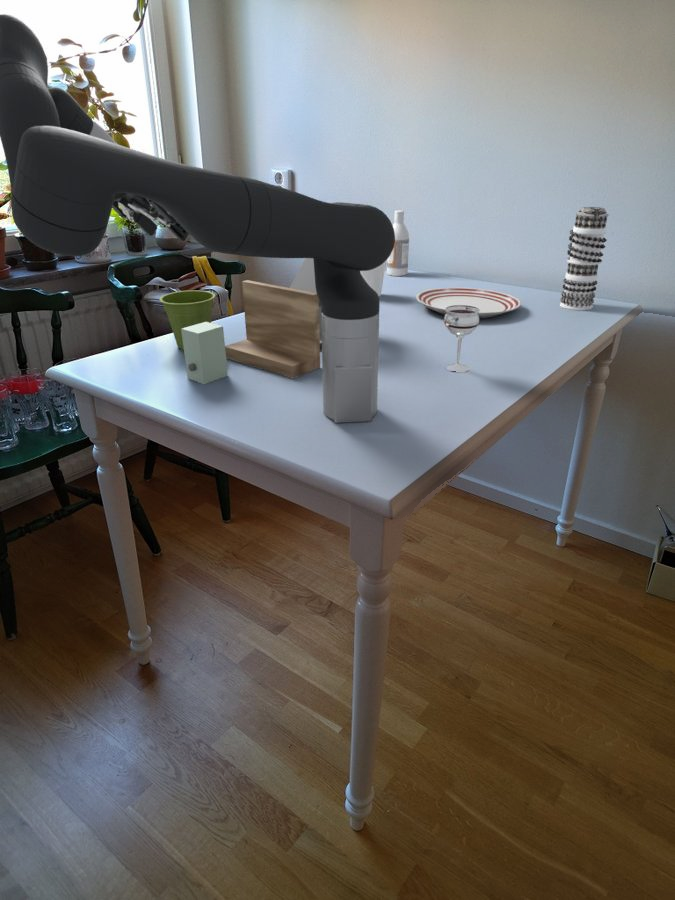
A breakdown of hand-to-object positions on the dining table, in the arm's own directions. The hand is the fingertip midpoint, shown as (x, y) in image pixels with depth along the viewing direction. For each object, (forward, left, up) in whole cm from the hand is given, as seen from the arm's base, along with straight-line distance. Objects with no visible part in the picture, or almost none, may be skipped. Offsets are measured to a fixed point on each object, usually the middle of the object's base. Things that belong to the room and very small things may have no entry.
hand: (169, 234), depth 104 cm
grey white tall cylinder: (+47, -98, -28) cm, 112 cm away
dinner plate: (+48, -68, -28) cm, 88 cm away
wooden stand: (+11, -16, -27) cm, 33 cm away
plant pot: (+24, +2, -28) cm, 36 cm away
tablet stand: (+27, -29, -28) cm, 48 cm away
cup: (+66, -44, -28) cm, 84 cm away
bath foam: (+94, -58, -28) cm, 114 cm away
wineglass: (+3, -53, -28) cm, 60 cm away
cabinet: (+4, -3, -27) cm, 28 cm away
